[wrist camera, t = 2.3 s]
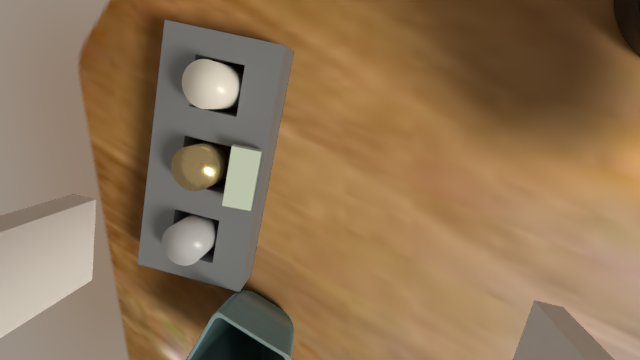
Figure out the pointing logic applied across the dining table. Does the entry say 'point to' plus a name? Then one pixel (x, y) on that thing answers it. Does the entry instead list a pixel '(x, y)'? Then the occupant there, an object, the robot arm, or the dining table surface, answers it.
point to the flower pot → (246, 331)
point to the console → (219, 127)
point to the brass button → (200, 165)
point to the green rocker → (241, 177)
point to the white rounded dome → (190, 239)
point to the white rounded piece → (212, 84)
